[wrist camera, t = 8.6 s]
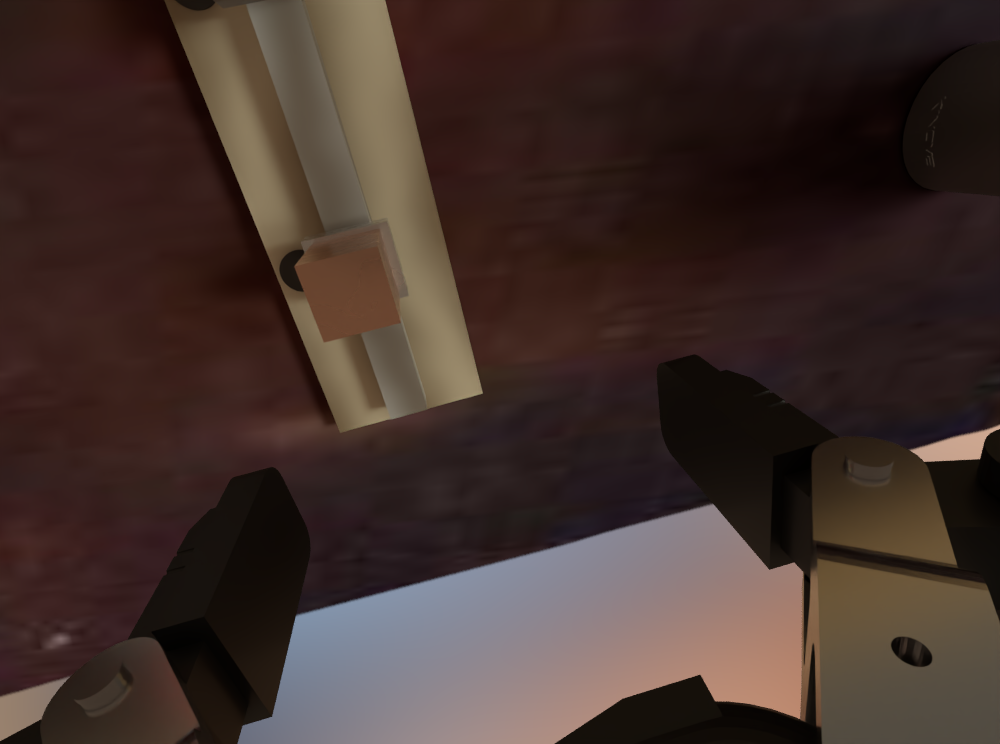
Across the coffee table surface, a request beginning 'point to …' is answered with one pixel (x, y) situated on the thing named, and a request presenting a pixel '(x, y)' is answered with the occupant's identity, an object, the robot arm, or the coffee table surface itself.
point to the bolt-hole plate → (380, 175)
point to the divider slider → (352, 279)
